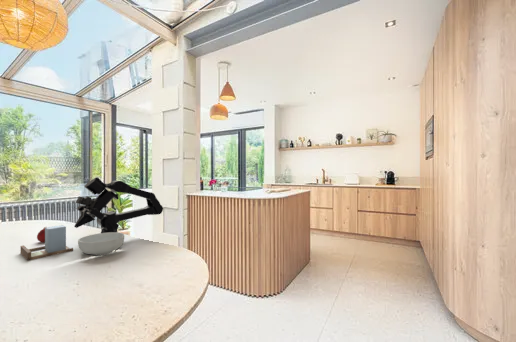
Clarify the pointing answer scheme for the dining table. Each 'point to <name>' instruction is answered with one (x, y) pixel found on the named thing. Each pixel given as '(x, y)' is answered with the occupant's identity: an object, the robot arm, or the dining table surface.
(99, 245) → the cereal bowl
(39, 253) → the box
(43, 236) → the onion
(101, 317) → the dining table surface
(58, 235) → the blue block
